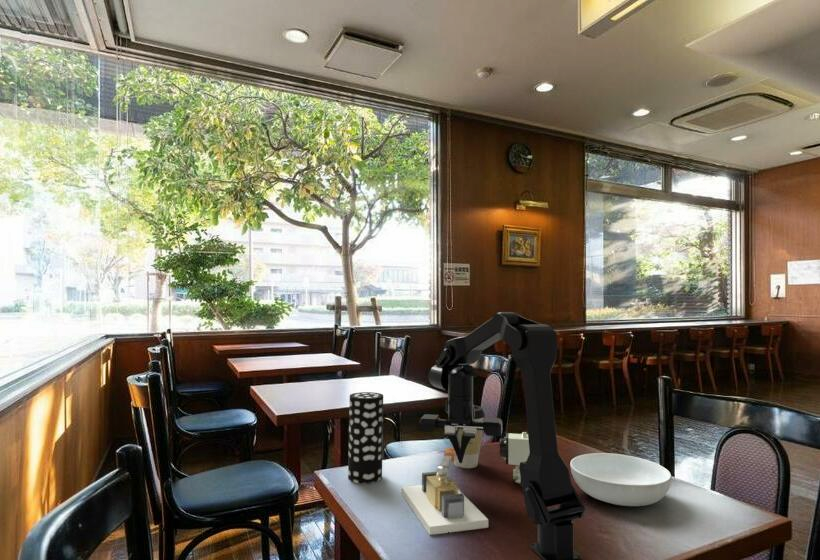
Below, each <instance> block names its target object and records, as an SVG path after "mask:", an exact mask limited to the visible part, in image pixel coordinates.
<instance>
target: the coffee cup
mask: <svg viewBox="0 0 820 560" xmlns="http://www.w3.org/2000/svg"><path fill="white" fill-rule="evenodd" d="M473 405H474V409H475V418H474V419H473V421H481V422H484V418H485V417H486V416H485V415H486V414H485V412H484V408H483V407H482V406H479V405H475V404H473ZM452 425H458V424H452ZM464 425H465V424H464ZM463 432H464V431H463V429H460V444H461V440H462V434H463ZM482 436H483V430H477V434H476V437H475V438H471V439H470V441H469V443H468V445H467V448H466V451H465V454H464V458H463V461H462V463H459V461H458V458H457V456H456V458H455V460H454V462H453V463H454V465H455V466H456V467H458V468H462V469H473V468H476V467H477V466H478V463H479V455H480V452H481V445H482ZM451 446H452V447H451V448H454V447H453V445H452V444H451Z"/></svg>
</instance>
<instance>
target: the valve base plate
mask: <svg viewBox="0 0 820 560" xmlns="http://www.w3.org/2000/svg"><path fill="white" fill-rule="evenodd" d="M457 489H458V494H463V493H462V492H461V490H460V489H459V488H458V487H457ZM400 492H401V493H400V494H401V495H402V497H403V498H404V499H405V501H406V503H407V504H408V505H409V507H410V509H411V510H412V512H413V513H414V514H415V516H416V517H417V519H418V520H419V522H420V523H421V524H422V526H423V527H424V529H425V531H426V532H427V533H428V535H429V536H433V535H442V534H447V533H448V532H449V533H455V532H456V533H457V532H464V531H472V530H480V529H481V530H482V529H487V528H489V519H488V518H487V516H485V514H484V513H482V512H481V510H479V508H477V507H476V505H475V504H473V502H472V501H470V500H469V498H468V497H467V496H466V495H464V515H463V518H456V519H448V518H447V517H446V518H444V517H443V516H442V511H439V510H438V509H437V508H434V507H433V505H432V504H431V503H430V502H429V500H428V499H427V495H426V492H423V491H422V484H419V485H417V484H416V485H409V486H401V491H400Z"/></svg>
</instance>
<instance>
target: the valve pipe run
mask: <svg viewBox="0 0 820 560" xmlns="http://www.w3.org/2000/svg"><path fill="white" fill-rule="evenodd" d="M421 485H422V491H423V492H426V495H427V499H428V500H429V502H430V503H431V504H432V505H433V507H434V508H437V509H438V510H439V511H442V516H443V517H444V518H446V517H447V518H448V519H456V518H463V515H464V496H465V494H464V493H462V494H458V489H459V488H458V484H457V483H456V482H455V481H454V480H453V479H452V478H451V477H450V476H449V475H447V476H445V480H444V481H440V480H439V476H438V475H437V471H428V472H427V471H426V472H422V473H421ZM457 488H458V489H457Z"/></svg>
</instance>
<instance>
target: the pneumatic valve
mask: <svg viewBox="0 0 820 560" xmlns="http://www.w3.org/2000/svg"><path fill="white" fill-rule="evenodd" d="M529 453H530V450H529V439H528V433H527V431H525V432H524V431H522V433H511V432H510V433H509V432H506V433H505V436H504V438H499V458H503V459H504V461H505V465H514V466H515V468H513V469H512V478H513V480H515V483H516V484H519V485H520V481H521V476H520V470H519V465H520V462H525V461H527V458H528V456H529Z"/></svg>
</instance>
